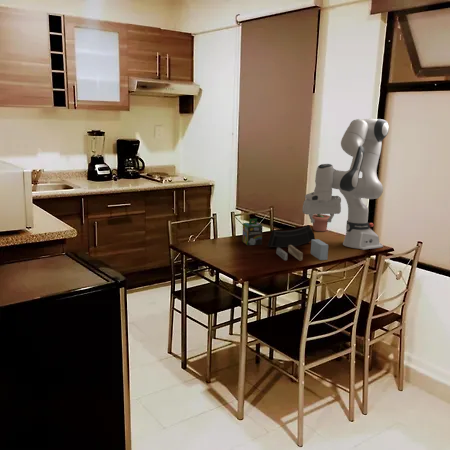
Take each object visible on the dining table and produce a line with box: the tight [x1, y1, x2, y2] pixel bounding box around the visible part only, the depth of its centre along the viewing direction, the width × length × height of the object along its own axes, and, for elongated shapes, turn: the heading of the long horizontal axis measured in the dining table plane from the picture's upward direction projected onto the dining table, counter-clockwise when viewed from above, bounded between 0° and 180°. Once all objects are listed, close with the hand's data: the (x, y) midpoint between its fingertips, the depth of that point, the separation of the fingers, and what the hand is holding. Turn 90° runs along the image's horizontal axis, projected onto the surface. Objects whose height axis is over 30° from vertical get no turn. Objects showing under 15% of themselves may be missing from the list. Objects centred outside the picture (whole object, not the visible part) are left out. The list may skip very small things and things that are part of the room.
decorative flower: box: [312, 189, 331, 232], centre depth 303 cm, size 15×14×30 cm
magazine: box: [267, 224, 316, 248], centre depth 266 cm, size 17×3×30 cm
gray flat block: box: [275, 247, 289, 261], centre depth 245 cm, size 2×12×4 cm, turn 14°
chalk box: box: [242, 218, 263, 246], centre depth 270 cm, size 9×9×15 cm
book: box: [310, 238, 329, 261], centre depth 247 cm, size 4×12×8 cm, turn 14°
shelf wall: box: [287, 245, 304, 262], centre depth 247 cm, size 2×16×4 cm, turn 14°
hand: (320, 222), depth 243 cm, fingers open, 8 cm apart
